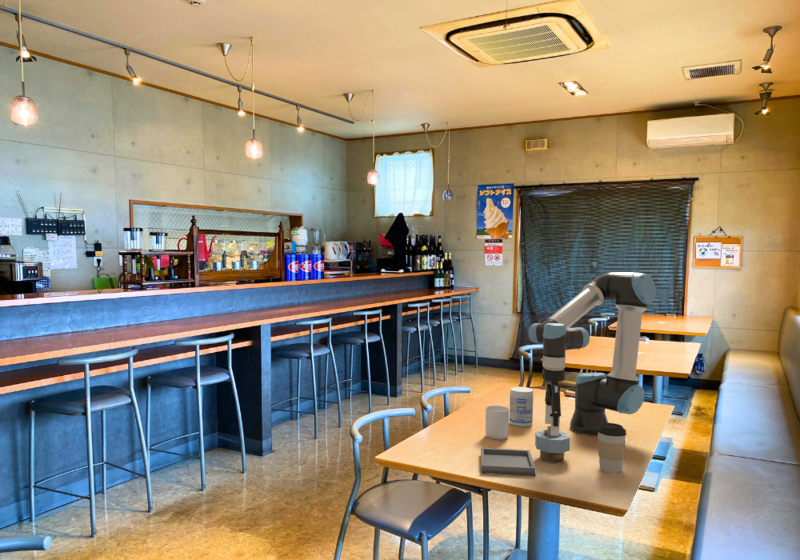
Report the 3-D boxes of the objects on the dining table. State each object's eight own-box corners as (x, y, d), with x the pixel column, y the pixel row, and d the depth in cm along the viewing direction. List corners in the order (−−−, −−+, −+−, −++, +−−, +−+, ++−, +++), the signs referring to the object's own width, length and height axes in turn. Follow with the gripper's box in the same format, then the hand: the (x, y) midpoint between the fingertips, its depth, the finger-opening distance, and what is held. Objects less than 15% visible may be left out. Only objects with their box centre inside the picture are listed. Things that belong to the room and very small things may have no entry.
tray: (529, 457, 196) (529, 450, 196) (535, 476, 179) (535, 468, 179) (480, 454, 198) (480, 447, 198) (481, 473, 181) (481, 465, 181)
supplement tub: (517, 428, 229) (518, 392, 228) (504, 422, 237) (505, 387, 237) (537, 425, 232) (538, 390, 232) (523, 419, 241) (524, 385, 241)
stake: (561, 455, 198) (562, 424, 197) (565, 463, 190) (566, 431, 189) (538, 454, 199) (539, 423, 198) (541, 462, 191) (542, 430, 190)
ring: (565, 443, 199) (566, 430, 199) (571, 453, 188) (571, 440, 188) (534, 441, 200) (534, 429, 200) (537, 452, 189) (538, 439, 189)
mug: (501, 442, 212) (501, 412, 211) (481, 437, 217) (481, 408, 217) (516, 434, 221) (516, 406, 221) (496, 429, 227) (496, 402, 226)
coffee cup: (591, 464, 189) (592, 420, 189) (617, 463, 190) (618, 420, 189) (603, 475, 180) (604, 429, 180) (630, 474, 181) (631, 428, 180)
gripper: (538, 361, 206) (536, 418, 207) (547, 375, 181) (545, 440, 182) (559, 362, 205) (557, 419, 206) (571, 376, 180) (569, 441, 181)
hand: (551, 429), depth 194 cm, fingers open, 13 cm apart
